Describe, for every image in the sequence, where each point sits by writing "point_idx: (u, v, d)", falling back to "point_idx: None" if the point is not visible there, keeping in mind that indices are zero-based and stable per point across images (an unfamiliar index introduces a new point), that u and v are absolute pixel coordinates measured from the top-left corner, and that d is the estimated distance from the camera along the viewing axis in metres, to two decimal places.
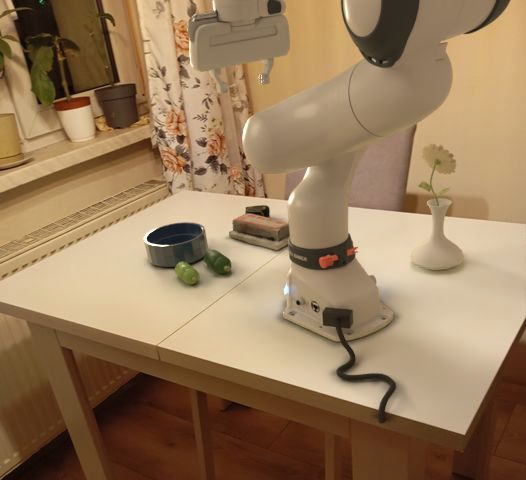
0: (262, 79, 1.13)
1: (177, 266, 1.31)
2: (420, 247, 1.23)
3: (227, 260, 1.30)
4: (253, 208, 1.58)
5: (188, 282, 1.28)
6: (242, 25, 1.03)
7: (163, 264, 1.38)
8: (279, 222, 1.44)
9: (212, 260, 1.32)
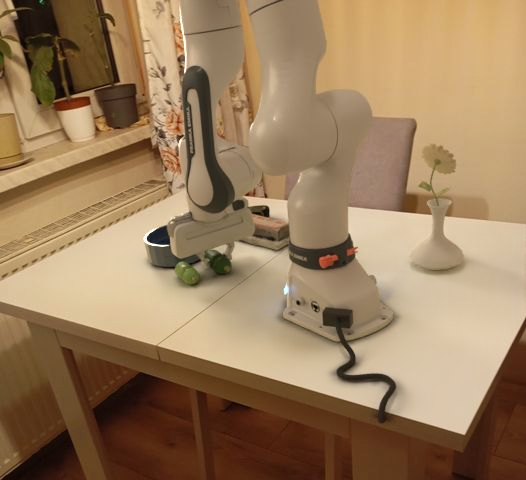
0: None
1: (177, 266, 1.31)
2: (420, 247, 1.23)
3: (227, 260, 1.30)
4: (253, 208, 1.58)
5: (188, 282, 1.28)
6: (213, 221, 1.26)
7: (163, 264, 1.38)
8: (279, 222, 1.44)
9: (212, 260, 1.32)
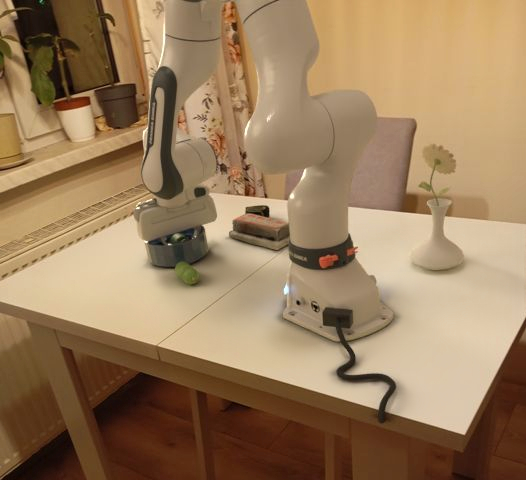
0: None
1: (177, 266, 1.31)
2: (420, 247, 1.23)
3: None
4: (253, 208, 1.58)
5: (188, 282, 1.28)
6: (176, 207, 1.36)
7: (163, 264, 1.38)
8: (279, 222, 1.44)
9: (177, 242, 1.42)
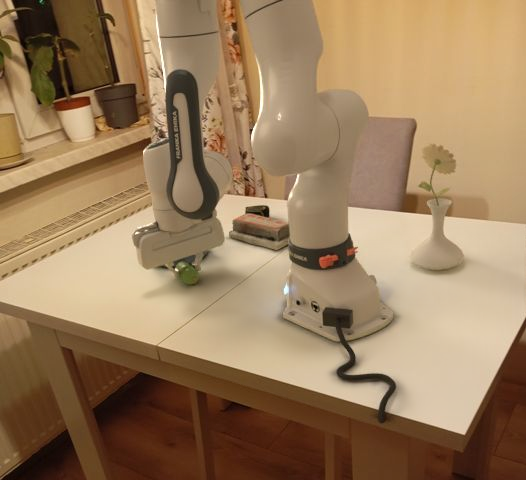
0: None
1: (177, 266, 1.31)
2: (420, 247, 1.23)
3: None
4: (253, 208, 1.58)
5: (188, 282, 1.28)
6: (179, 232, 1.23)
7: None
8: (279, 222, 1.44)
9: None
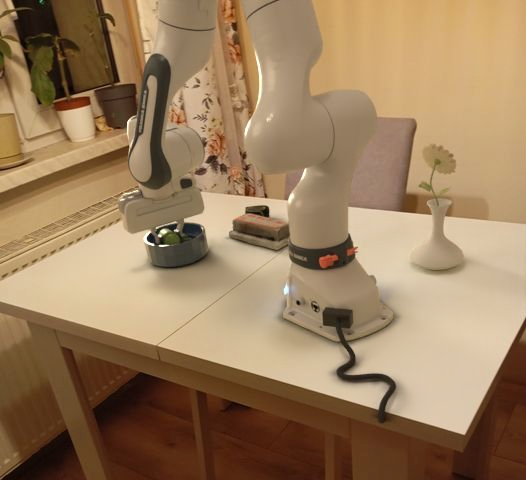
0: (176, 234, 1.41)
1: (160, 232, 1.42)
2: (420, 247, 1.23)
3: None
4: (253, 208, 1.58)
5: None
6: (161, 199, 1.33)
7: (163, 264, 1.38)
8: (279, 222, 1.44)
9: (180, 239, 1.42)
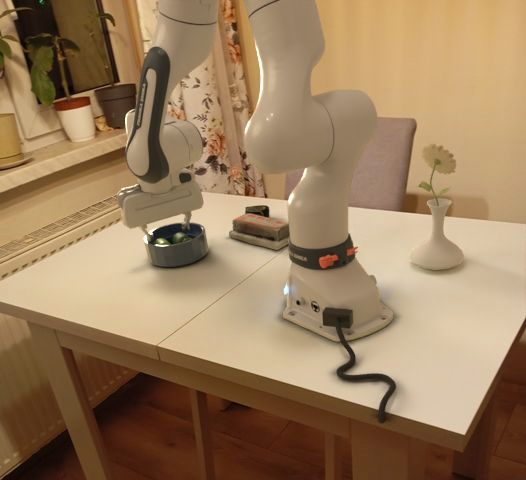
0: (183, 227, 1.42)
1: None
2: (420, 247, 1.23)
3: None
4: (253, 208, 1.58)
5: None
6: (160, 193, 1.32)
7: (163, 264, 1.38)
8: (279, 222, 1.44)
9: (180, 239, 1.42)
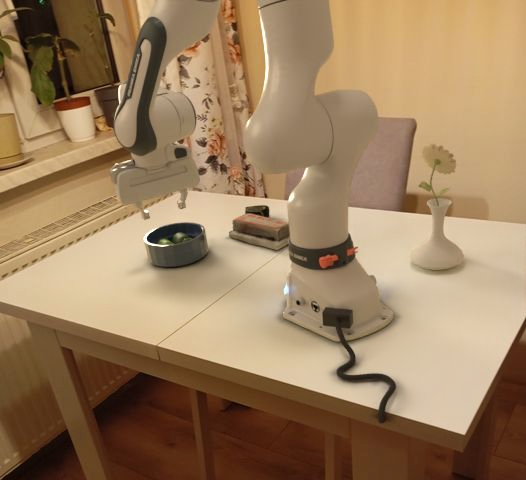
0: (179, 205, 1.38)
1: None
2: (420, 247, 1.23)
3: None
4: (253, 208, 1.58)
5: None
6: (155, 169, 1.29)
7: (163, 264, 1.38)
8: (279, 222, 1.44)
9: (180, 239, 1.42)
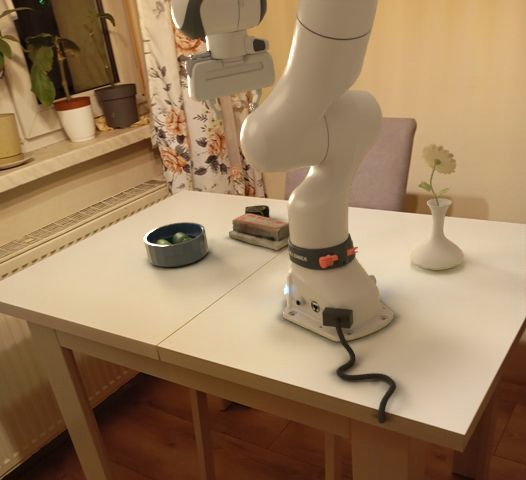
0: (252, 107, 1.30)
1: None
2: (420, 247, 1.23)
3: None
4: (253, 208, 1.58)
5: None
6: (232, 61, 1.21)
7: (163, 264, 1.38)
8: (279, 222, 1.44)
9: (180, 239, 1.42)
